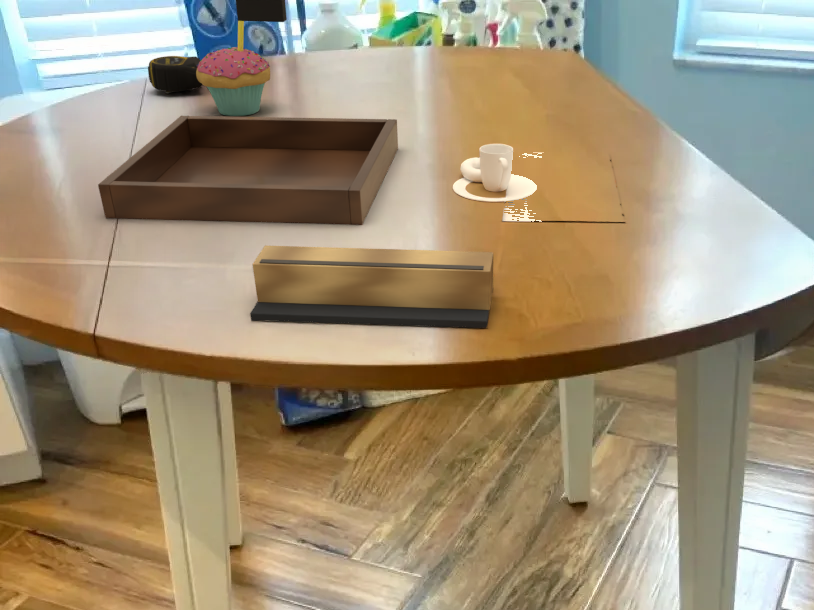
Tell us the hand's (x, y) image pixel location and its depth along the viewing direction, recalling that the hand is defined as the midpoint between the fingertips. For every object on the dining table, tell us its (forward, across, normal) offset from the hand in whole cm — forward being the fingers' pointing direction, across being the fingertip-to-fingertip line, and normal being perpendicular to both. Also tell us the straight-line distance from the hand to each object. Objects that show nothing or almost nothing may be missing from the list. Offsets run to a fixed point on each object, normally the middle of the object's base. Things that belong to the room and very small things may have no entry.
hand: (289, 0), depth 61 cm
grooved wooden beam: (+20, -2, -5) cm, 20 cm away
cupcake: (+21, +50, +20) cm, 57 cm away
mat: (+20, -2, -5) cm, 21 cm away
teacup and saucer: (+20, +26, -14) cm, 36 cm away
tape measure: (+21, +60, +30) cm, 70 cm away
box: (+20, +24, +10) cm, 33 cm away
